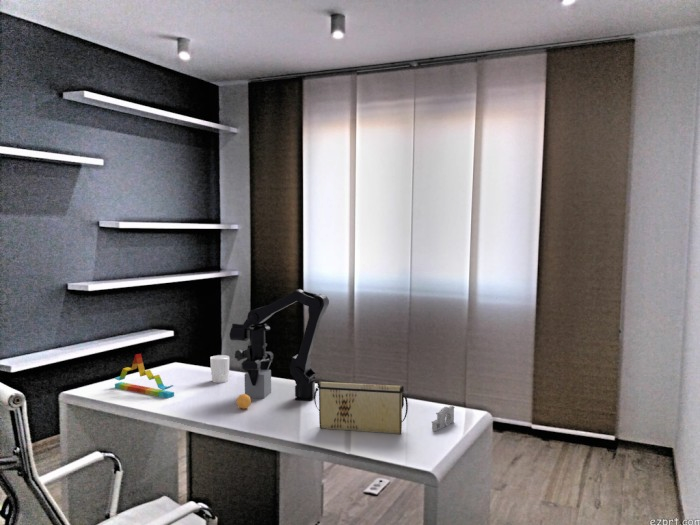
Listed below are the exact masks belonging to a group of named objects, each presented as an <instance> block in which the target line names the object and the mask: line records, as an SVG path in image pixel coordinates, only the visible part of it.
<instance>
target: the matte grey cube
mask: <svg viewBox="0 0 700 525" xmlns="http://www.w3.org/2000/svg"><path fill="white" fill-rule="evenodd" d="M244 394H246V395H248V396H249V397H250V398H251V399H252V398H255V399H265V398H267V396H269V395H270V394H272V370H271V369H268V370H260V373H259V376H258V379H257V382H256V385H255V386H253V385H252V383H251V380H250V377H249V374H248V372H247V371H246V372H245V373H244Z"/></svg>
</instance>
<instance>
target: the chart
mask: <svg viewBox="0 0 700 525" xmlns="http://www.w3.org/2000/svg"><path fill="white" fill-rule="evenodd" d="M136 369H138V373H139V377H145V376H146V377H147V378H148V380H149V381H151V380H154V381H155V383H156V386H157V388H154V387H149V386H143V385H138V384H133V383H127V382H122V380H125V378H126V376H127V374H128V372H129V371H133V370H136ZM114 379H115V380H117V381H120V382H116V383H114V388H115V389H120V390H124V391H130V392H134V393H135V392H136V393H139V394H140V393H141V394H144V395H145V394H146V395H150V396H155V397H160V398H164V399H165V398H166V399H171V398H174V397H175V392H174V391H171V390H168V389H171V388H172V387H174V385H169V386H166V385H164V382H163V380H162V378H161V375H160V374H156V375H154V373H153V372H152V370H151V369H148V370H146V369H145V366H144V361H143V357H142V353H137V354H135V355H134V358H133V362H132V366H131V367H129V366H127V367H124V368H122V370H121V373H120V375H119V376H117V377H114Z"/></svg>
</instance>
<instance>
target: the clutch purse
mask: <svg viewBox="0 0 700 525" xmlns="http://www.w3.org/2000/svg"><path fill="white" fill-rule="evenodd" d="M404 389H405V388H404V385H389V384H376V383H375V384H372V383H371V384H369V383H354V382H353V383H352V382H350V383H349V382H333V381H332V382H330V381H318V382H317V387H315V393H314V399H313V400H314V405H315V407H316V408H317V410H318V413H319V414H318V416H319V417H318V418H319V419H318V420H319V422H318V423H319V428H320V429H330V430H331V429H332V430H345V431H346V430H347V431H360V432H373V433H376V432H377V433H387V434H388V433H389V434H399V435H402V433H403V432H402V431H403V430H402V428H403V422H404V421H405V419H406V417H407V414H408V407H409V406H408V405H409V404H408V398H407V394H408V392H407V390H404ZM317 393H318V406H317V402H316V401H317V400H316V397H317ZM404 406H405V414H404V418H403V408H404Z"/></svg>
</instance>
